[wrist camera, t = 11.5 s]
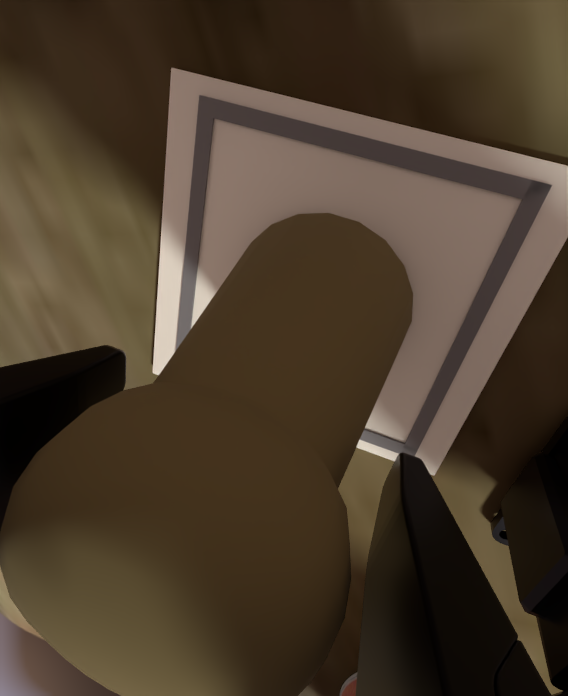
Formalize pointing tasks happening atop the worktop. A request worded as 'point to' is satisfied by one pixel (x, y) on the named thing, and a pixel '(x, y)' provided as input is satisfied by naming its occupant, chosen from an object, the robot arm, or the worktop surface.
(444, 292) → the marked card
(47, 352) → the worktop surface
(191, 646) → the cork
